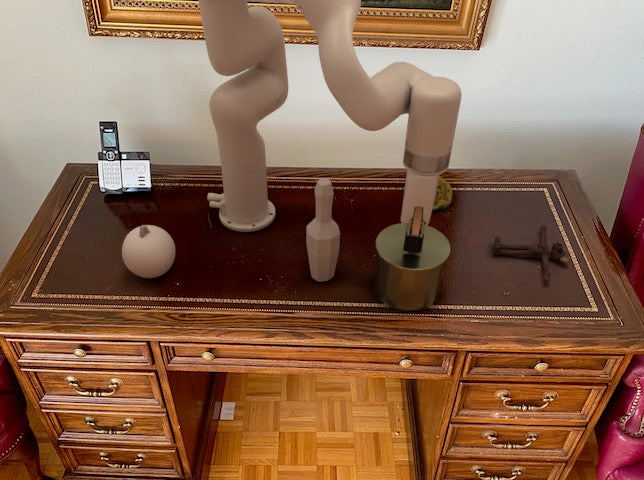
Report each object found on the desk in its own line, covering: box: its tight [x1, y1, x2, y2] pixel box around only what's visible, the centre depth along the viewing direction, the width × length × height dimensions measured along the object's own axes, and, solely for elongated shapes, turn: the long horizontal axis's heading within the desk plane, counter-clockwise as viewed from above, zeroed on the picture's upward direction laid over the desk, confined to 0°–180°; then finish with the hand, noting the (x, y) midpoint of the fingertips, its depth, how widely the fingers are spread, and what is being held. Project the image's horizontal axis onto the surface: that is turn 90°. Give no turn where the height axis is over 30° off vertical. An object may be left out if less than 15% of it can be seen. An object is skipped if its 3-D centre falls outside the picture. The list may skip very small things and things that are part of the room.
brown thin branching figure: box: [493, 224, 570, 282], centre depth 129 cm, size 18×4×14 cm
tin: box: [373, 252, 447, 312], centre depth 120 cm, size 13×13×10 cm
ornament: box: [121, 224, 176, 279], centre depth 125 cm, size 10×10×12 cm
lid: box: [375, 217, 451, 272], centre depth 115 cm, size 14×14×7 cm
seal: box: [432, 175, 454, 213], centre depth 145 cm, size 9×5×15 cm
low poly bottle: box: [305, 178, 341, 282], centre depth 120 cm, size 6×6×22 cm
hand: (413, 242), depth 116 cm, fingers open, 4 cm apart
